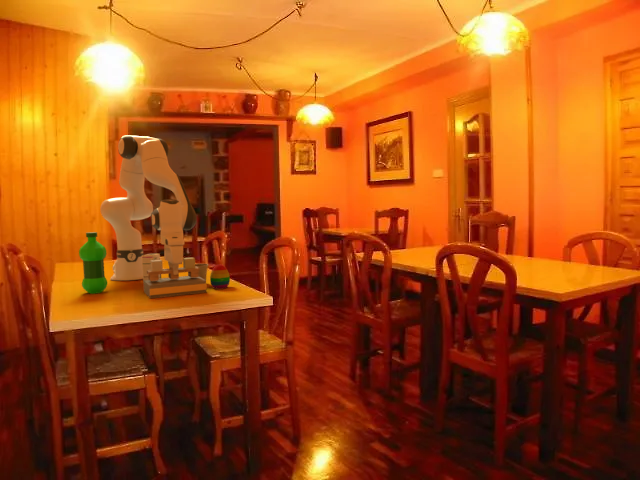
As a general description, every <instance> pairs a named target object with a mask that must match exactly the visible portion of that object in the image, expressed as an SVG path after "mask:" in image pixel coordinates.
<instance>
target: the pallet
mask: <svg viewBox="0 0 640 480" xmlns="http://www.w3.org/2000/svg"><path fill="white" fill-rule="evenodd" d="M198 271H200V268H198V267H196V266H195V268H191V269H185V268H183V266H182V267H179V268H178V274H177V275H174V274H173V268H170V269H169V268H163V271H154V272H152V271H151V270H147V274H148V279H149V280H150V281H159V280H158V275H159V274H161V275H168V278H170V279H179V277H180V276H179V275H180V274H181V273H187V276H190V277H191V278H192V277H199V273H198Z"/></svg>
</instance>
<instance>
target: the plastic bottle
mask: <svg viewBox="0 0 640 480" xmlns="http://www.w3.org/2000/svg"><path fill="white" fill-rule="evenodd" d="M97 237H98V232H95V231H93V232H85V238H87V240H86V242H85V243H84V244H83V245H82V246H80V248H79V249H78V256H79V258H80V259H81V260H82V267H83V268H82V269H83V278H82V282H81V287H82V289H83V290H85V292H87V293H88V294H92V295H93V294H101V293H102V292H103V291H104V290H105V289H106V288H107V286H108V279H107V278H106V276H105V263H104V260H105V258H106V257H107V248H106V247H105V246H104V245H103V244H102V243H101V242H99V241H98V240H97Z"/></svg>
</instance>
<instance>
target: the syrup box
mask: <svg viewBox="0 0 640 480" xmlns="http://www.w3.org/2000/svg"><path fill="white" fill-rule="evenodd" d="M160 254H161V253H147V254H143V255H142V270H143V279H142V280H149V279H148V274H147V270H151V264H150V261H151V260H161V255H160ZM160 278H162V274H159V275H158V279H160ZM142 282H143V281H142ZM143 285H144V282H143Z"/></svg>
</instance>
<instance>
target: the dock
mask: <svg viewBox="0 0 640 480" xmlns="http://www.w3.org/2000/svg"><path fill="white" fill-rule="evenodd" d="M142 280H143V279H142ZM158 280H159V281H150V280H143V281H142V282H144V284H143V292H144V294H145V296H147V297H148V298H149V299H155V298H156V299H158V298H159V299H160V298H165V297H166V298H167V297H177V296H185V295H197V294H204V293H207V290H208V286H207V279H206V280H204V279H203V278H201V277H192V278H191V277H190V276H188V275H185V276H179V279H170V278H169V277H163V278H162V277H161V278H160V279H158Z"/></svg>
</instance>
